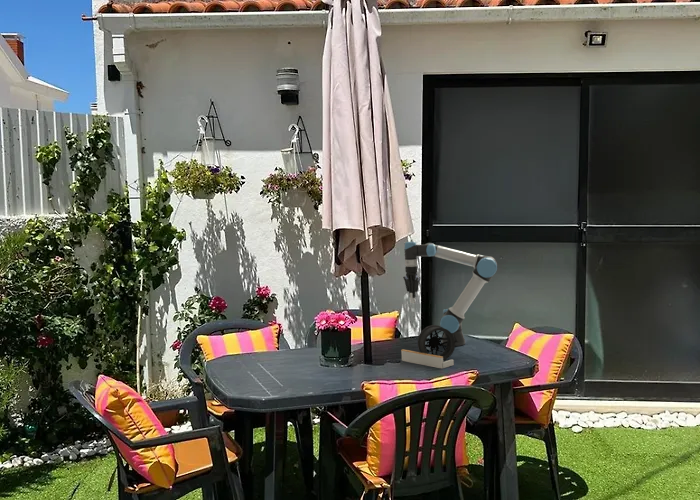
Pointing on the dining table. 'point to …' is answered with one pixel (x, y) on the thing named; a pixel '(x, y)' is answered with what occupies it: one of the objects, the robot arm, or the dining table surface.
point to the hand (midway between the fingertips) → (412, 302)
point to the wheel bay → (425, 359)
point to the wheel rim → (436, 341)
